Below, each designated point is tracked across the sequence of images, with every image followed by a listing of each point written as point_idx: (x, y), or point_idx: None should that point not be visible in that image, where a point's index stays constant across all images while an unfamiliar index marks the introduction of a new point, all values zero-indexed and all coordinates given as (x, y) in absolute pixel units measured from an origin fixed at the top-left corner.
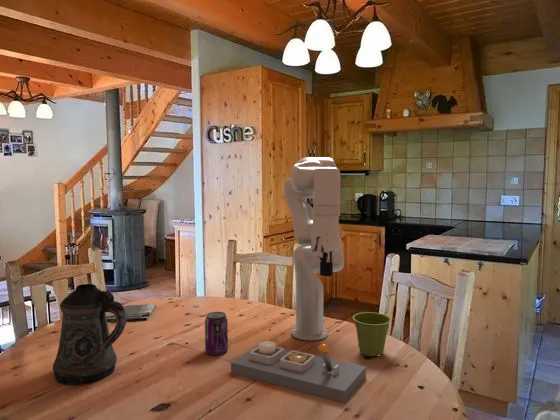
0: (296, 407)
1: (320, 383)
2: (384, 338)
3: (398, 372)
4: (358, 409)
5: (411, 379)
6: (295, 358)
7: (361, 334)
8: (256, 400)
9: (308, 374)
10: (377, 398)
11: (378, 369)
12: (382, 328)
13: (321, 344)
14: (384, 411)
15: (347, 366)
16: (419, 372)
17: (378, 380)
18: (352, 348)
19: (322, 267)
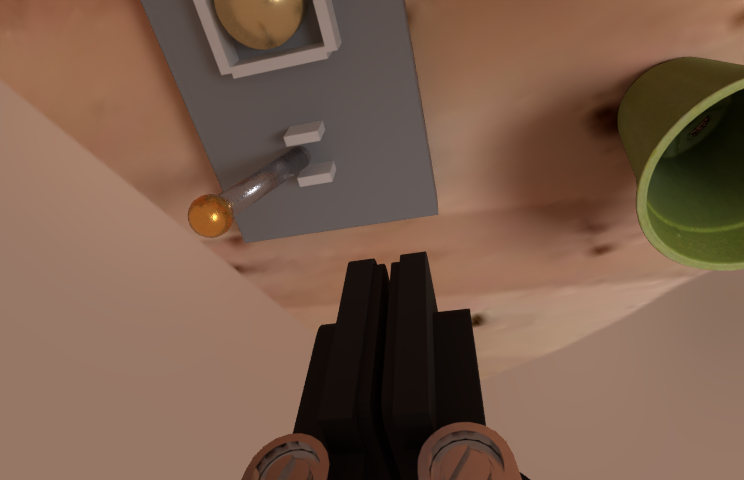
0: (130, 140)
1: (223, 168)
2: (685, 203)
3: (534, 252)
4: (259, 261)
5: (507, 292)
6: (229, 15)
7: (644, 132)
8: (36, 11)
9: (237, 96)
10: (341, 270)
11: (520, 198)
12: (673, 239)
13: (196, 221)
14: (299, 303)
15: (395, 167)
16: (569, 293)
17: (441, 231)
18: (689, 9)
19: (312, 388)
